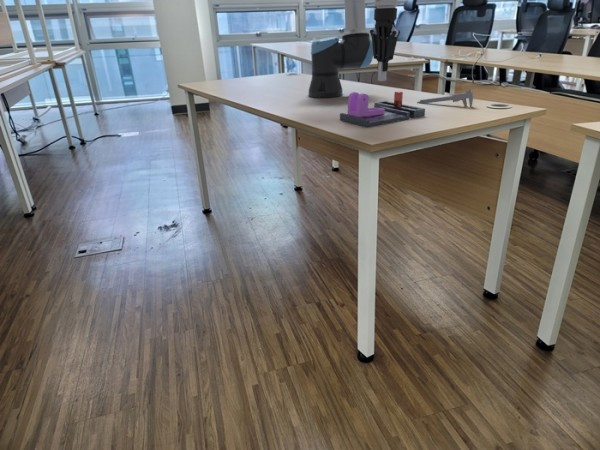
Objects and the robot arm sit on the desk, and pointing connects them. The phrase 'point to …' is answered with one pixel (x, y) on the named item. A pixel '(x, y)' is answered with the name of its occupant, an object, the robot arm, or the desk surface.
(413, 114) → the frame
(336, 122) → the desk surface
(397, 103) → the lever
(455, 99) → the caliper
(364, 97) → the bracket
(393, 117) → the press bed
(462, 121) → the desk surface
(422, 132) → the desk surface
